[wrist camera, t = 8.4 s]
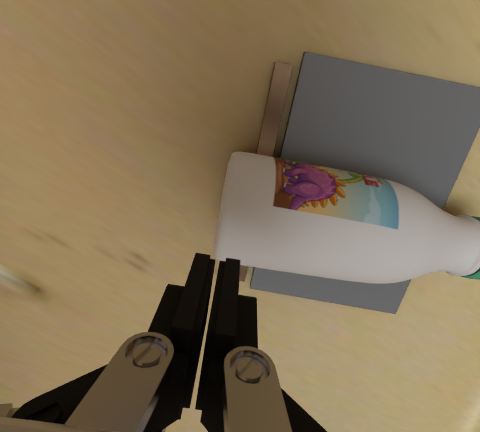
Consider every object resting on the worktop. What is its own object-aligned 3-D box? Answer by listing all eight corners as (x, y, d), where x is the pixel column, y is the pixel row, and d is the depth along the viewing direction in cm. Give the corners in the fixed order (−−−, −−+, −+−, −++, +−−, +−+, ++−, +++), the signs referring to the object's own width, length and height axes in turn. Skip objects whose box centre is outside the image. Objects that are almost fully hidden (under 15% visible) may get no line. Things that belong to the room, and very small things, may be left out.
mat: (303, 52, 23) (305, 52, 23) (490, 90, 24) (496, 90, 23) (250, 284, 31) (250, 288, 30) (393, 309, 31) (395, 313, 31)
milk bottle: (212, 240, 27) (435, 275, 29) (210, 279, 20) (509, 323, 22) (229, 147, 26) (463, 191, 27) (232, 151, 18) (554, 211, 20)
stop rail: (274, 62, 24) (276, 61, 23) (291, 65, 24) (292, 64, 23) (232, 272, 30) (231, 279, 29) (244, 274, 30) (244, 281, 29)
